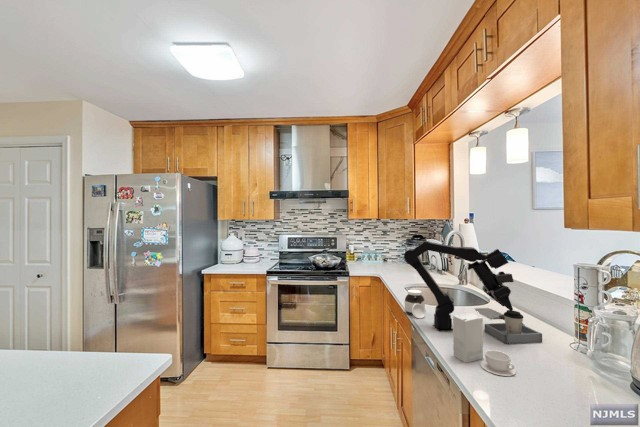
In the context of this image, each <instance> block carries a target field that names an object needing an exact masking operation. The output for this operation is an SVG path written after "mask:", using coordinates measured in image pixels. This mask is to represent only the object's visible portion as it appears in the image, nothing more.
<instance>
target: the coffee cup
mask: <svg viewBox="0 0 640 427" xmlns="http://www.w3.org/2000/svg"><path fill="white" fill-rule="evenodd" d="M503 315H504V317H505V320H504V323H505V324H506V332H507V334H521V328H522V323H523V320H524V316H523V314H521V312H520V311H517V310H514V309H513V310H511V311H510V310H509V309H508V310H506V311H505V312H503Z"/></svg>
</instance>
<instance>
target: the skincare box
mask: <svg viewBox="0 0 640 427" xmlns="http://www.w3.org/2000/svg"><path fill="white" fill-rule="evenodd" d="M483 319H484V318H483V317H481V316H478V315H476V314H474V313H472V312H465V313H461V314H457V315H456V314H455V315H452V322H453V323H452V329H453V331H452V332H453V333H452V334H453V335H452V336H453V337H452V339H453V341H452V342H453V344H452V345H453V346H452V347H453V356H454V357H455V358H458V359H459V360H461V361H462V362H464V363H470V362H475V361H478V360H481V359H484V349H483V348H484V346H483V345H484V340H483V337H484V336H483V335H484V334H483V333H484V332H483V328H484V327H483V324H484V322H483Z"/></svg>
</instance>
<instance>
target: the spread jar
mask: <svg viewBox="0 0 640 427" xmlns="http://www.w3.org/2000/svg"><path fill="white" fill-rule="evenodd" d="M422 294H423V293H422V290H418V289H408V290H407V295H406V296H405V297H404V310H405V312H406V314H408V315H410V316H413V317H415V318H417V319H422V318H424V317H425V316H426V311H427V310H426V302H425V297H424V296H423V295H422Z"/></svg>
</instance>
